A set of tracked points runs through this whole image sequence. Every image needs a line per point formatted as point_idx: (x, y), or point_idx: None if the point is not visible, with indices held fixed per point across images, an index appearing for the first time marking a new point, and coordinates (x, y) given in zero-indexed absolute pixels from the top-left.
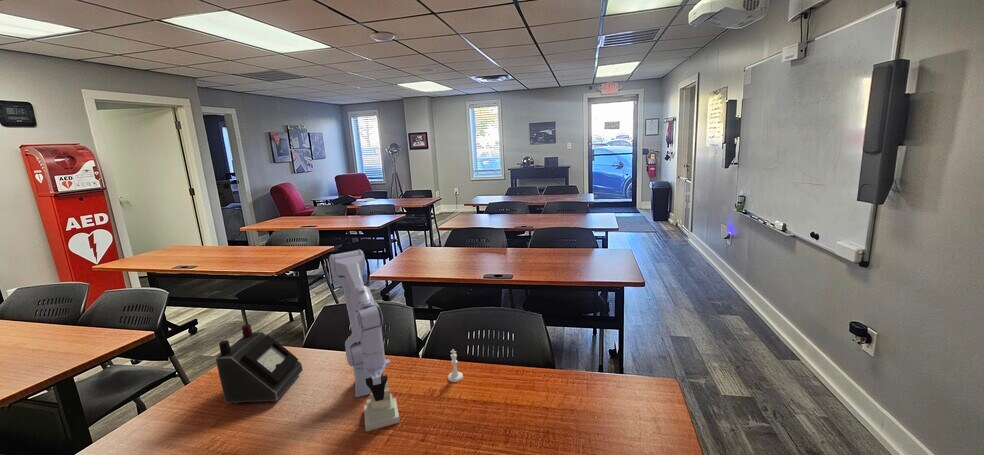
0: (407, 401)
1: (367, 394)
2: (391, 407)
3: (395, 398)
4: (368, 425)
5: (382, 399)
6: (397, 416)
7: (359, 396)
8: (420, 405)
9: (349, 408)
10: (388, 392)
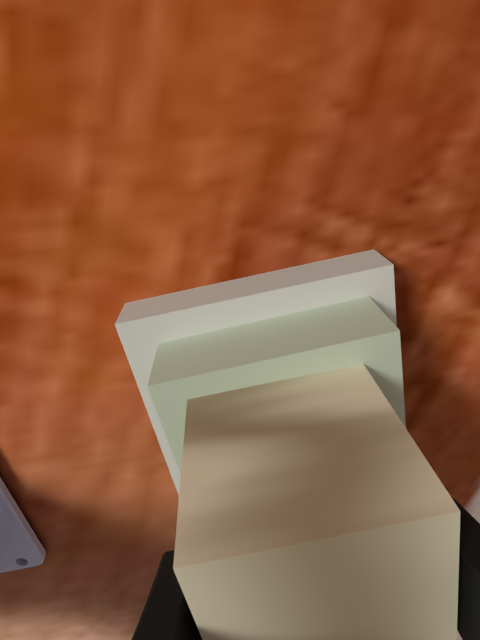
0: (111, 210)
1: (16, 505)
2: (382, 357)
3: (124, 324)
4: None
5: (458, 506)
6: (385, 278)
7: (39, 541)
8: (188, 69)
9: (150, 558)
10: (445, 496)
